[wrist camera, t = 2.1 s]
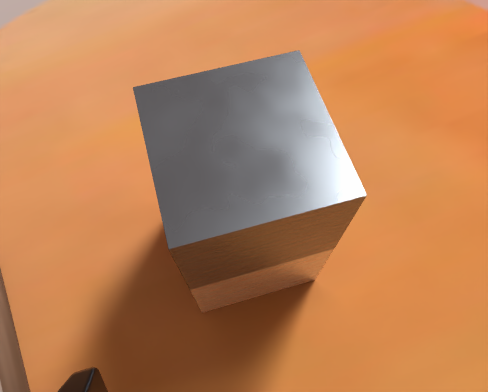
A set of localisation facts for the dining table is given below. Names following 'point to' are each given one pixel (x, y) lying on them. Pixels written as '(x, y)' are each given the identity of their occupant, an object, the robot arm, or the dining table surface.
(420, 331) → the dining table surface
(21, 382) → the stand
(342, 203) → the block
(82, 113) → the dining table surface
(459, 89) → the dining table surface
